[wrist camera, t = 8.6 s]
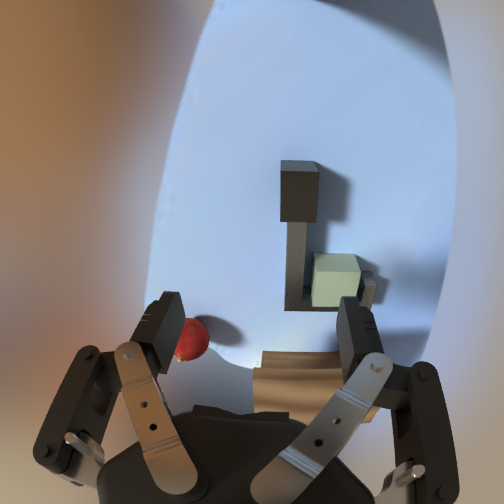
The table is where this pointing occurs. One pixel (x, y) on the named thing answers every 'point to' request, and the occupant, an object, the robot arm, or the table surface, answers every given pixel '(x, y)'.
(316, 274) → the block
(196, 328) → the red rounded piece
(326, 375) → the walnut shelf
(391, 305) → the table surface
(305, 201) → the mallet
